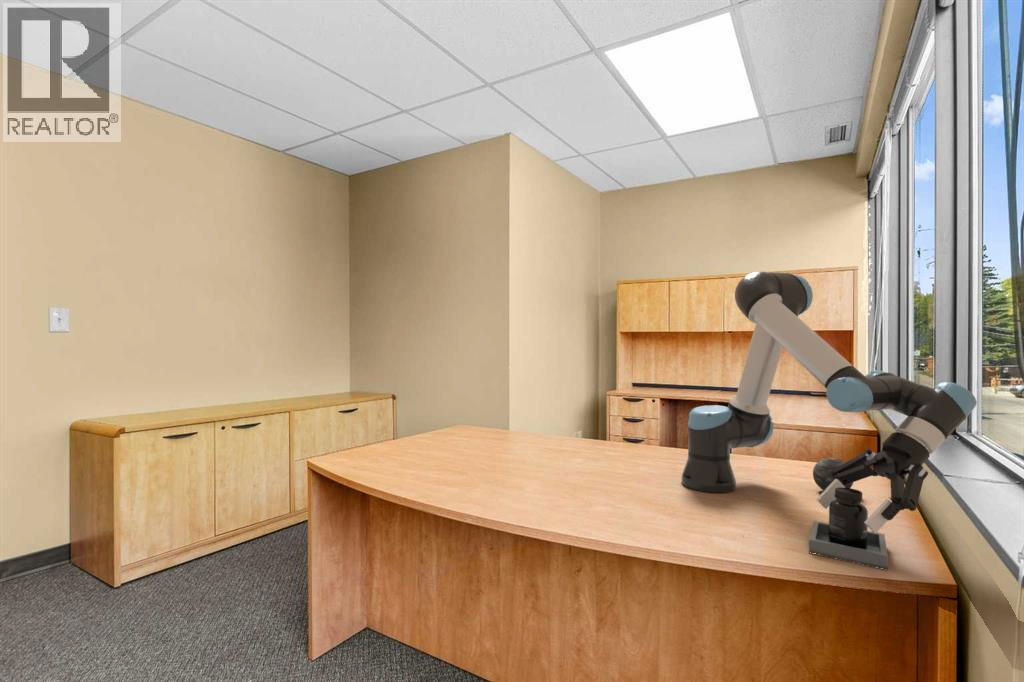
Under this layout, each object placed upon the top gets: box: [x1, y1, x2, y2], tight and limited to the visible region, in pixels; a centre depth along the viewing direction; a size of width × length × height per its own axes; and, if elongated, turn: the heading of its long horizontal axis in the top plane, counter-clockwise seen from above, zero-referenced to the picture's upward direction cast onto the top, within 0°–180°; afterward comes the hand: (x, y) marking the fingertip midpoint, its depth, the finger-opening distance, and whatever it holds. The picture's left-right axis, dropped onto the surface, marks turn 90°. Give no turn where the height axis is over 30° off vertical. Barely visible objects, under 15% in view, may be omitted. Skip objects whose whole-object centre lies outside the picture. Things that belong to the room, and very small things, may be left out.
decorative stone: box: [812, 457, 854, 492], centre depth 144 cm, size 10×10×10 cm
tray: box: [808, 520, 889, 570], centre depth 106 cm, size 13×13×3 cm
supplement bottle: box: [828, 487, 869, 550], centre depth 106 cm, size 7×7×12 cm
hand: (843, 515), depth 105 cm, fingers open, 13 cm apart
